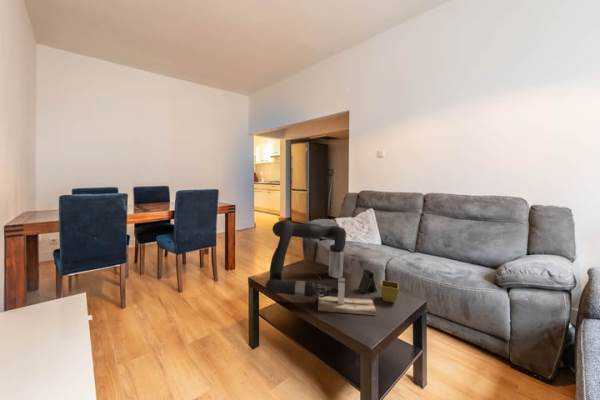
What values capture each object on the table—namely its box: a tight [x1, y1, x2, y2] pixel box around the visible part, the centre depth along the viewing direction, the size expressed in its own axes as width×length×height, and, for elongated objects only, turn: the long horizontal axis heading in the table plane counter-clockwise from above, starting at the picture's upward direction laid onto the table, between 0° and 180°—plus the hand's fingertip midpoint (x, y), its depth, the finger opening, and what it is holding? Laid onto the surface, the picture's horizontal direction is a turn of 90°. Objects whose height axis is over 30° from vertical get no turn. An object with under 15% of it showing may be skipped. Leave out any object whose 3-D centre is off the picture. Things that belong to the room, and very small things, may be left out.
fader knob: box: [337, 277, 346, 304], centre depth 130 cm, size 4×3×12 cm
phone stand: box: [357, 268, 378, 295], centre depth 150 cm, size 9×6×12 cm, turn 108°
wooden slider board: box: [317, 295, 377, 316], centre depth 131 cm, size 12×28×2 cm, turn 84°
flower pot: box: [380, 280, 400, 304], centre depth 139 cm, size 9×9×9 cm
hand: (338, 291), depth 131 cm, fingers closed
